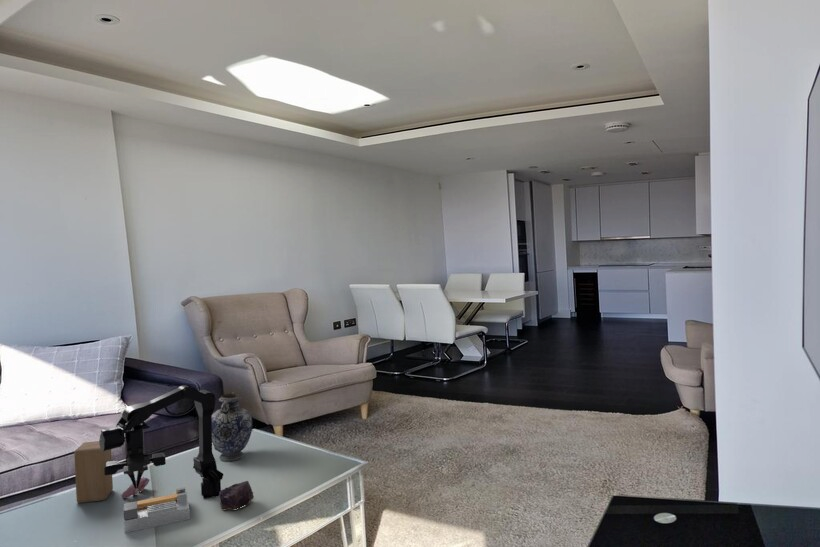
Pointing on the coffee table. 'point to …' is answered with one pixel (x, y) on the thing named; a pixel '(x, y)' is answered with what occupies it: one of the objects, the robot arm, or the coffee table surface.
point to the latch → (130, 510)
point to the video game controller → (134, 491)
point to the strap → (157, 500)
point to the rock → (236, 496)
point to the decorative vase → (231, 428)
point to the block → (92, 473)
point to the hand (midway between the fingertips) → (136, 487)
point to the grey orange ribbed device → (160, 513)
